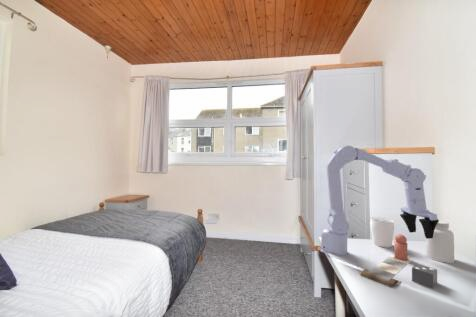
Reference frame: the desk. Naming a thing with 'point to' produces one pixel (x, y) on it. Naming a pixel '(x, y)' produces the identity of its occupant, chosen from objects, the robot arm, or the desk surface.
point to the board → (386, 271)
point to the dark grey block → (424, 275)
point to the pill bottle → (441, 244)
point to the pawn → (400, 247)
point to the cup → (382, 231)
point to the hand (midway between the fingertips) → (420, 234)
